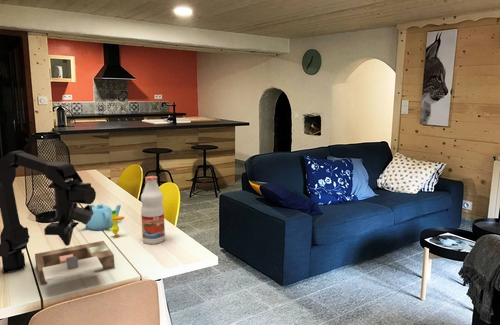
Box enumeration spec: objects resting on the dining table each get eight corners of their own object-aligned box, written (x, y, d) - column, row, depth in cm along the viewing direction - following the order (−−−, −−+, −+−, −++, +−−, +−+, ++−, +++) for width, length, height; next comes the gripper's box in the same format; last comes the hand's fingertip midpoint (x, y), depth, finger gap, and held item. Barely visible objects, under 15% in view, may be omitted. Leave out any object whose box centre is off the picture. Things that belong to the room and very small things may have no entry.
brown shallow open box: (40, 285, 129) (38, 270, 128) (36, 266, 142) (34, 253, 142) (114, 267, 142) (113, 254, 141) (104, 252, 155) (103, 240, 154)
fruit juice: (162, 235, 174) (160, 173, 169) (167, 242, 166) (164, 178, 161) (140, 238, 170) (137, 175, 165) (144, 245, 162) (141, 180, 157)
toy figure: (124, 233, 176) (123, 208, 173) (126, 236, 172) (124, 210, 170) (108, 236, 172) (107, 210, 170) (110, 239, 169) (108, 212, 167)
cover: (45, 281, 120) (44, 270, 120) (42, 270, 128) (41, 259, 128) (102, 268, 130) (102, 257, 129) (96, 258, 137) (95, 248, 137)
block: (61, 273, 138) (60, 261, 137) (60, 268, 142) (59, 256, 141) (75, 270, 140) (74, 258, 139) (73, 265, 144) (72, 254, 143)
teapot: (77, 231, 178) (75, 208, 176) (92, 220, 193) (90, 199, 191) (110, 232, 178) (108, 209, 176) (122, 221, 192) (121, 200, 190)
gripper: (78, 209, 121) (81, 256, 124) (98, 193, 139) (100, 235, 142) (41, 209, 121) (45, 256, 124) (66, 193, 139) (69, 235, 142)
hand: (67, 245), depth 133 cm, fingers closed
